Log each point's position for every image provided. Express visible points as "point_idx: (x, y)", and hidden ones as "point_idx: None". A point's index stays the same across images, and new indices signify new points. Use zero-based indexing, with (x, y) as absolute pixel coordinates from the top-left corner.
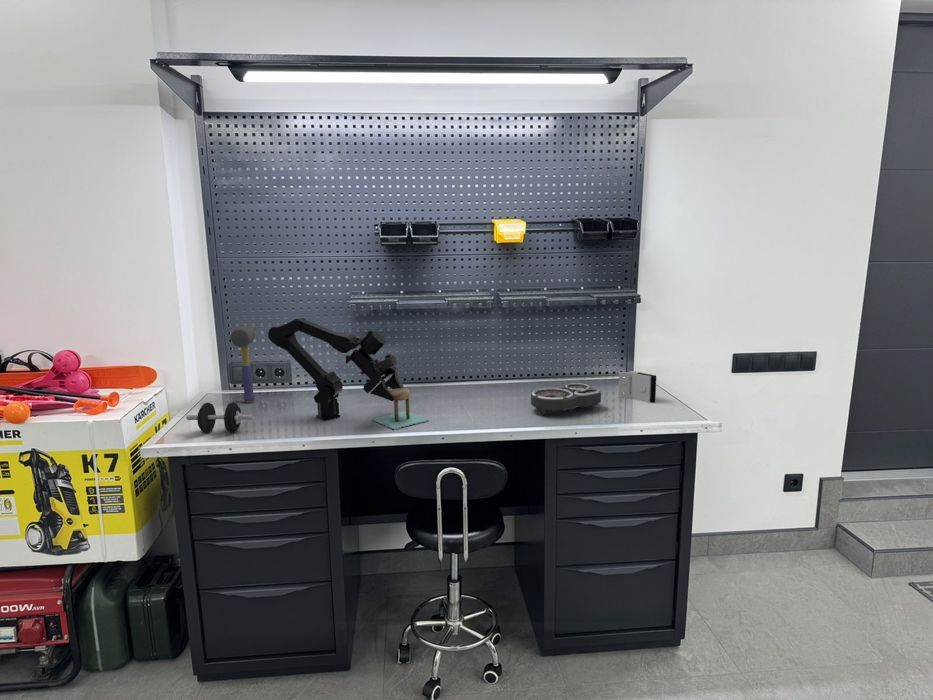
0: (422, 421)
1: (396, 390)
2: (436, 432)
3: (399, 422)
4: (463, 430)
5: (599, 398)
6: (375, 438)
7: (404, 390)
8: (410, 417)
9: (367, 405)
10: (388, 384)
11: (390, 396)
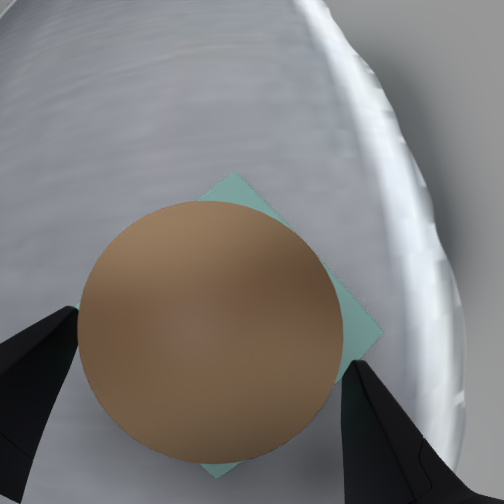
0: (262, 199)
1: (179, 378)
2: (380, 142)
3: None
4: (339, 69)
5: None
6: (462, 374)
7: (181, 264)
8: None
9: None
10: (16, 468)
11: (387, 398)
